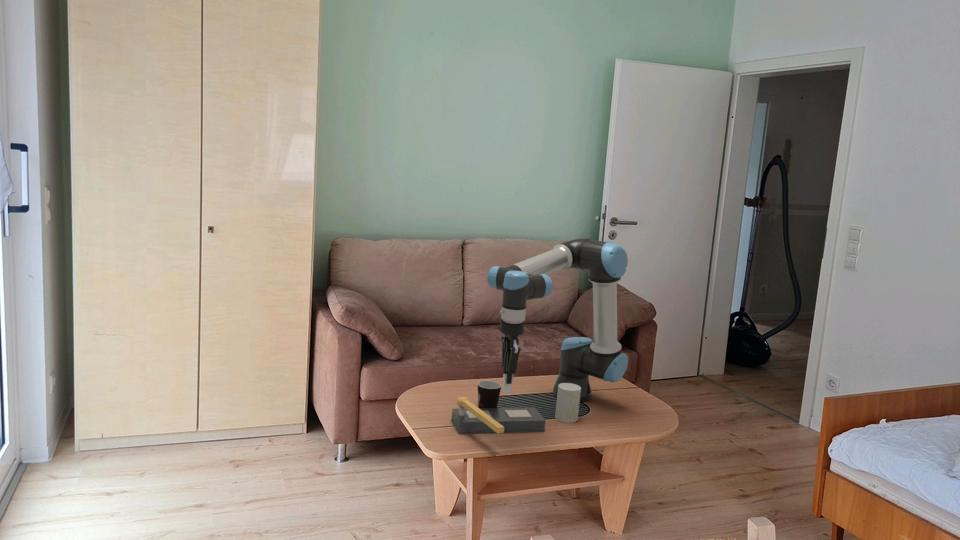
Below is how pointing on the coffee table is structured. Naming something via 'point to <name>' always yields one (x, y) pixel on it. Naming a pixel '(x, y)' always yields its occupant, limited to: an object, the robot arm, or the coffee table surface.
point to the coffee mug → (488, 394)
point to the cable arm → (480, 414)
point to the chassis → (499, 420)
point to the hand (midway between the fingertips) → (506, 391)
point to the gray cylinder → (567, 402)
